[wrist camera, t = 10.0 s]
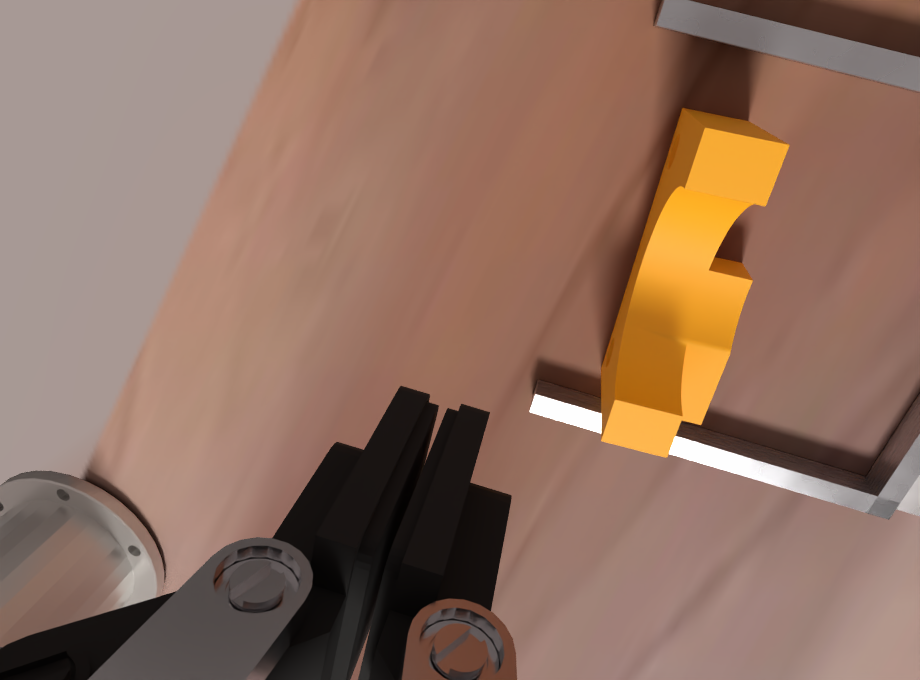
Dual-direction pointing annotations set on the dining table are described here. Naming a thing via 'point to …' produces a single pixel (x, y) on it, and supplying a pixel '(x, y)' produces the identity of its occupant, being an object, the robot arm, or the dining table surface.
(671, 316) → the pipe clamp
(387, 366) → the dining table surface
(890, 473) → the hinge bracket
